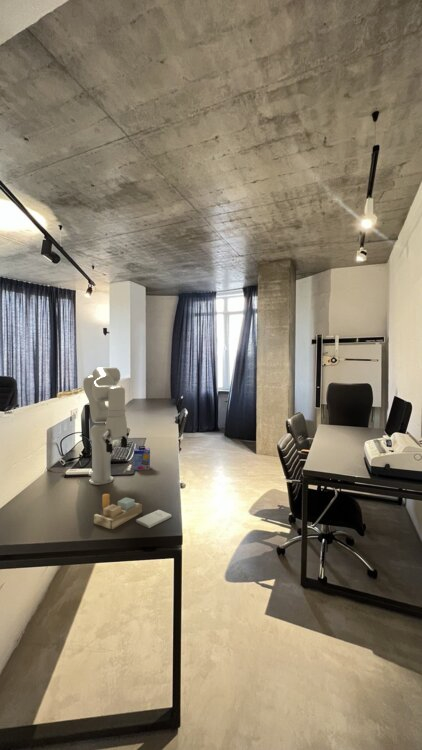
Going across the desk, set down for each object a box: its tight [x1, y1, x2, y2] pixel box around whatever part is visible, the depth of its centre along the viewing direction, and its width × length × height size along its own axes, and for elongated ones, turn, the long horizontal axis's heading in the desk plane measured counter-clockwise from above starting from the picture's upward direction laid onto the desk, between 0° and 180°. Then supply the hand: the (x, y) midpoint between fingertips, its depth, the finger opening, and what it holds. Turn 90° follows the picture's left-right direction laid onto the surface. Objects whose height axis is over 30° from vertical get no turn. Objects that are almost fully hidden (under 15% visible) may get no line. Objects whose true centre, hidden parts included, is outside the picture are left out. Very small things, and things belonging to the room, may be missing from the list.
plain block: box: [102, 503, 121, 519], centre depth 136 cm, size 5×5×6 cm
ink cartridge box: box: [133, 445, 151, 471], centre depth 205 cm, size 10×6×14 cm, turn 104°
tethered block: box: [101, 493, 136, 511], centre depth 146 cm, size 16×5×6 cm, turn 61°
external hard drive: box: [135, 509, 172, 529], centre depth 138 cm, size 2×8×12 cm
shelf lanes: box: [93, 502, 143, 530], centre depth 140 cm, size 10×17×4 cm, turn 151°
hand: (116, 449), depth 155 cm, fingers open, 9 cm apart
